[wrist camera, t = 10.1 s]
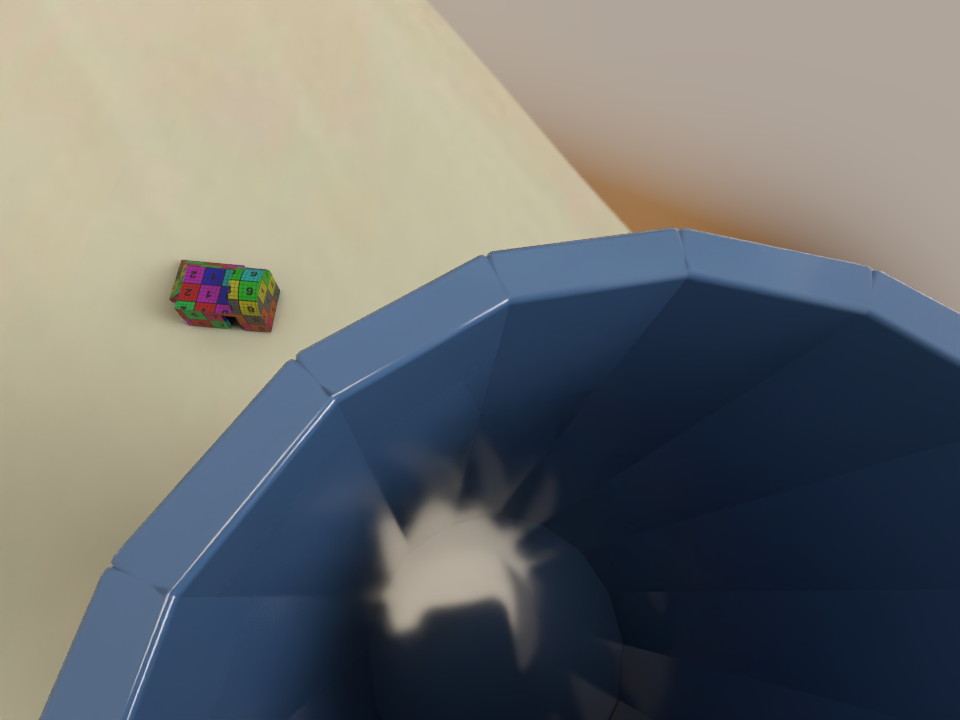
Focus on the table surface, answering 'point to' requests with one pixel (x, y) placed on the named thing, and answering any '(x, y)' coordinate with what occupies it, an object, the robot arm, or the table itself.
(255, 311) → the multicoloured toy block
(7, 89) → the table surface
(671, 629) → the cup
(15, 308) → the table surface
